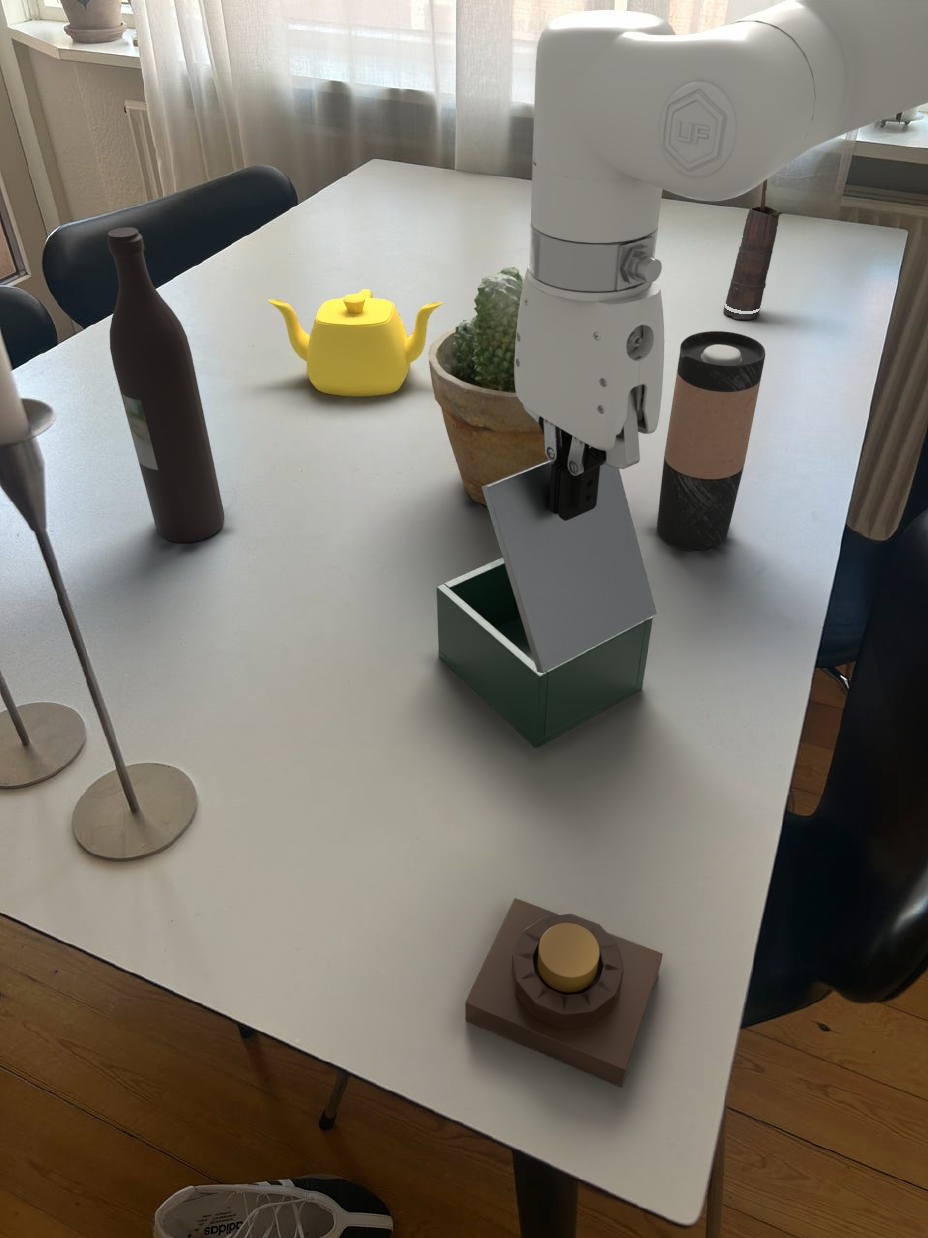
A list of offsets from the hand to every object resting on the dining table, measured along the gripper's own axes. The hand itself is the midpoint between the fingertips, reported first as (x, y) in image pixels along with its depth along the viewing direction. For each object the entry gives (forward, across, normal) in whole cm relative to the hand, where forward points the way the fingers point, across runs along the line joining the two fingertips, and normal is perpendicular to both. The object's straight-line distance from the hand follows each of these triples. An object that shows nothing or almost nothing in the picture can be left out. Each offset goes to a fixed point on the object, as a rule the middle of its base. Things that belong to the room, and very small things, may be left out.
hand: (572, 509), depth 70 cm
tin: (+18, +3, 0) cm, 18 cm away
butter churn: (+18, +44, -73) cm, 87 cm away
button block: (+18, -21, +18) cm, 33 cm away
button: (+15, -21, +18) cm, 31 cm away
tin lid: (+4, 0, 0) cm, 4 cm away
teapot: (+18, +62, -18) cm, 67 cm away
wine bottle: (+18, +42, +15) cm, 48 cm away
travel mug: (+18, +10, -26) cm, 33 cm away
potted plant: (+18, +28, -17) cm, 37 cm away
